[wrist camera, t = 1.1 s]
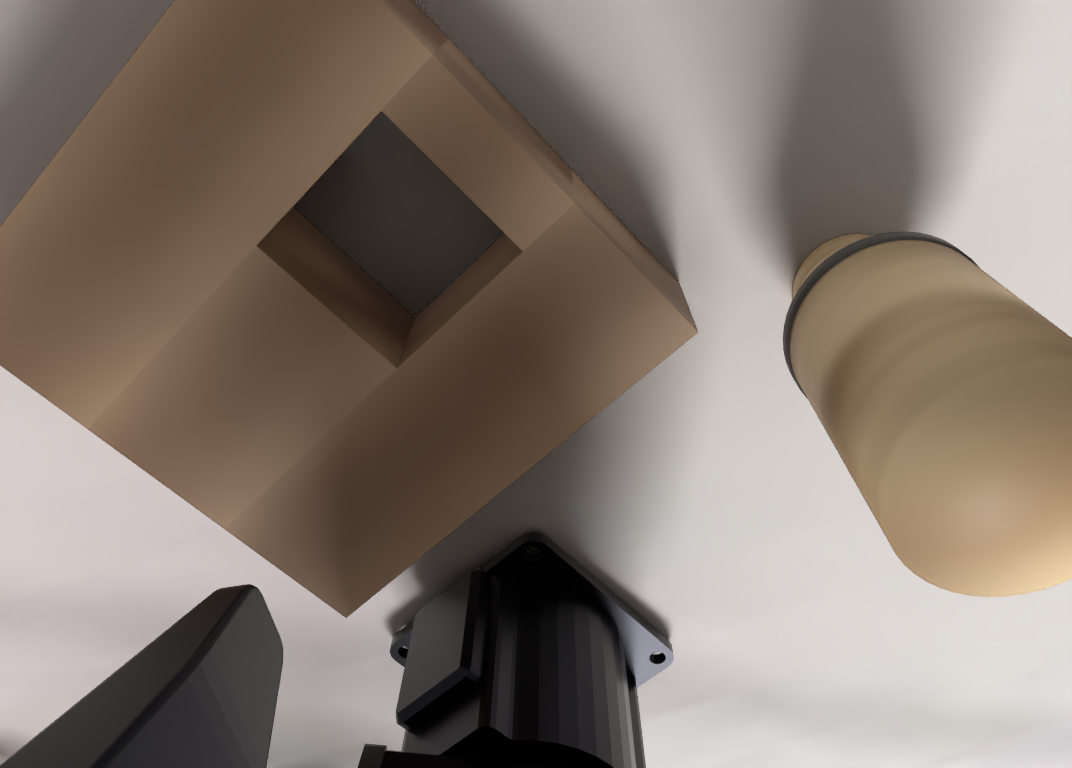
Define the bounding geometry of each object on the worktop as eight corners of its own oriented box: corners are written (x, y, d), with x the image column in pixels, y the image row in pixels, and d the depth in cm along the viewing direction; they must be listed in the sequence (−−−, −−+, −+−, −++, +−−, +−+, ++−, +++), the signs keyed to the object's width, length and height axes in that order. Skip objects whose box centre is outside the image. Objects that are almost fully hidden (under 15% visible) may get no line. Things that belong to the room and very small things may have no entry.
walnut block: (679, 284, 22) (698, 331, 19) (367, 547, 26) (346, 617, 23) (308, -111, 18) (266, -120, 15) (7, 269, 22) (-69, 315, 19)
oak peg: (975, 290, 22) (1224, 493, 14) (826, 399, 23) (973, 640, 15) (873, 160, 20) (1084, 301, 12) (721, 284, 22) (822, 484, 14)
